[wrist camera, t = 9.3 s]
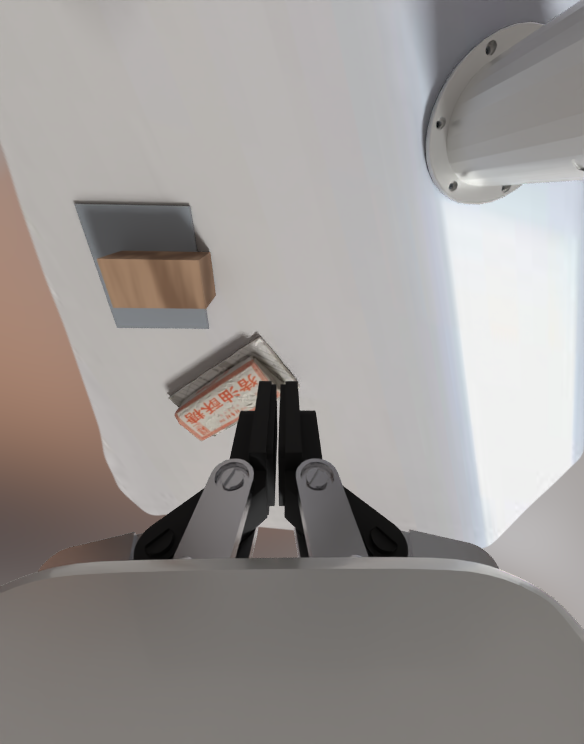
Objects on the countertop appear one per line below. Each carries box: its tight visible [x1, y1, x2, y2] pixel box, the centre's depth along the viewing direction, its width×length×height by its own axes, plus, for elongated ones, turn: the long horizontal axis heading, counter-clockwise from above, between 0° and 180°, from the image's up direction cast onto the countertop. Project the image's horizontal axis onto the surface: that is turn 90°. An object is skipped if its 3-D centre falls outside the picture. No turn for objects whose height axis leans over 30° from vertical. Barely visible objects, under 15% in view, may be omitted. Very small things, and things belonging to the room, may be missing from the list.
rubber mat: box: [75, 204, 209, 329], centre depth 33 cm, size 12×14×1 cm
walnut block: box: [97, 251, 216, 309], centre depth 31 cm, size 5×5×10 cm
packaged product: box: [169, 337, 300, 441], centre depth 41 cm, size 18×5×10 cm
